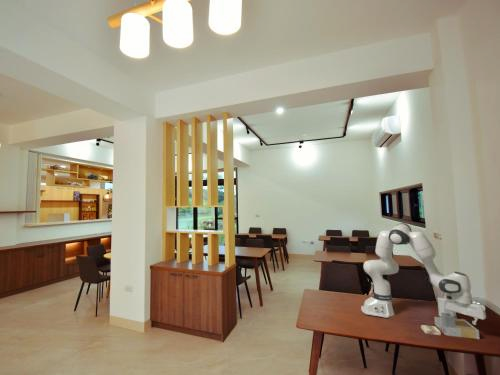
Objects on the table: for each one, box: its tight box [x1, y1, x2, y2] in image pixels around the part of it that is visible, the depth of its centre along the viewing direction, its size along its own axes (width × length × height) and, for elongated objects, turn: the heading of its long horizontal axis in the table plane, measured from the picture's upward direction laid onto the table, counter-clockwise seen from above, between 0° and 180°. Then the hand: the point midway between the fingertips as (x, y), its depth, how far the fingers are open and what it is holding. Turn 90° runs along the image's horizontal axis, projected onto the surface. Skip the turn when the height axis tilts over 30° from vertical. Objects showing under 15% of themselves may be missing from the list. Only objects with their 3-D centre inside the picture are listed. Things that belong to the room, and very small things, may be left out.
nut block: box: [441, 313, 455, 325], centre depth 151 cm, size 5×5×5 cm
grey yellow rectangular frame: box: [433, 316, 480, 340], centre depth 150 cm, size 17×14×5 cm
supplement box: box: [437, 297, 457, 317], centre depth 169 cm, size 7×7×13 cm
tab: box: [420, 324, 442, 336], centre depth 150 cm, size 8×7×2 cm
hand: (464, 321), depth 149 cm, fingers open, 8 cm apart
